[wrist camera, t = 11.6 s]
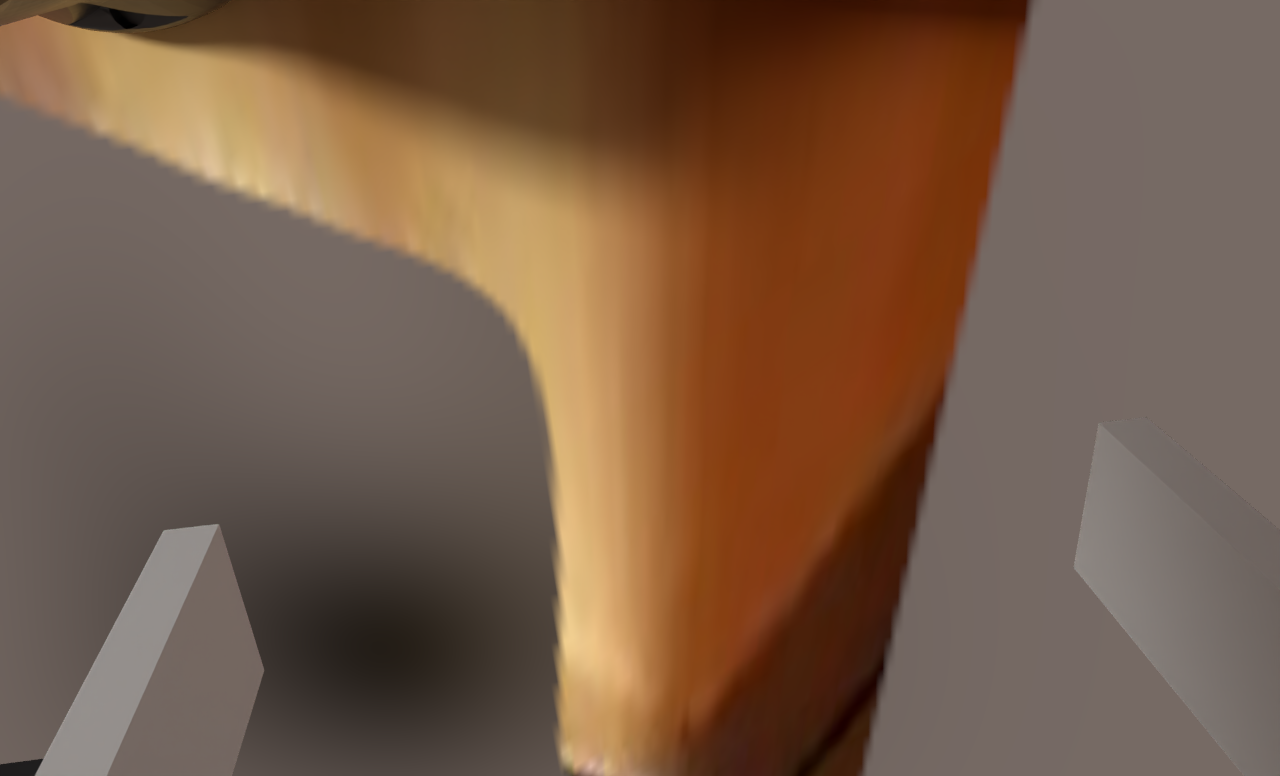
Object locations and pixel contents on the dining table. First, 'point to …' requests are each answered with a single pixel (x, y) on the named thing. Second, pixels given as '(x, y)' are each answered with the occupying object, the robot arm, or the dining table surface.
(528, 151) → the dining table surface
